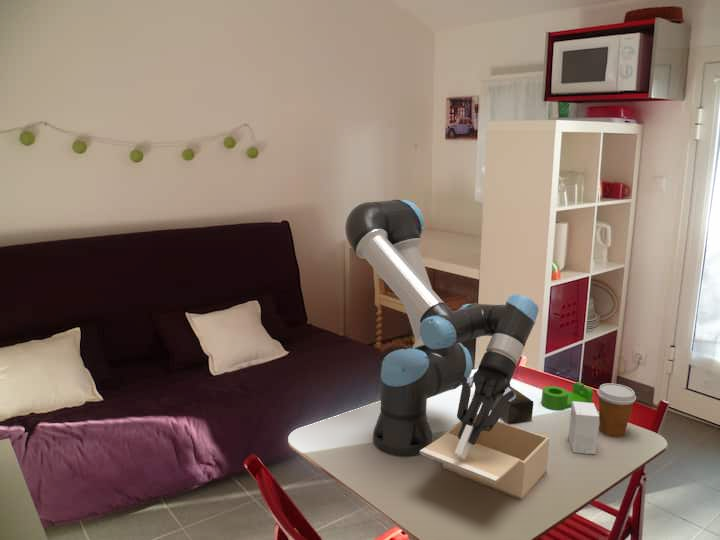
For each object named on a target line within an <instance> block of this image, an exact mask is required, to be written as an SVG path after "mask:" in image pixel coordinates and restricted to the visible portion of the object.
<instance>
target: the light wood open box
mask: <svg viewBox="0 0 720 540" xmlns="http://www.w3.org/2000/svg"><path fill="white" fill-rule="evenodd" d="M477 416H478V413H477V415H476V417H475V419H474V422H473V423H475V420H476V418H477ZM461 427H462V422H461V421H460V420H459V422H458V423H457V424H455V425H454V426H453V427H450V429H448V430H446V431H445V432H444V433H443V435H445V434H447V433H449V434H452V435H455V436H458V434H459V431H460V429H461ZM472 427H473V428H474V426H473V424H472ZM476 443H477V444H480V445H482V446H485V447H488V448H491V449H493V450H496V451H499V452H502V453H504V454H507V455H510V456H513V457H516V458H518V459H520V462H519V463H518V464H517V465H516V466H515V467H514V468H513V469H511V470H510V471H509V472H508V473H507V474H506V475H505V476H503V477H502V478H501V479H500V480H499V481H498V482H497V483H496V484H495V483H492V482H490V481H487V480H485V479H482V478H479V477H477V476H474V475H472V474H469V473H467V472H464V471H462V470H459V469H457V468H454V467H452V466H449V465H447V464H444V463H442V466H441V467H442V469H444V470H447V471H449V472H451V473H454V474H457V475H458V476H461V477H463V478H466V479H468V480H470V481H473V482H476V483H479V484H481V485H484V486H486V487H489V488H491V489H494V490H496V491H499V492H500V493H504V495H505V494H506V495H508V496H511V497H513V498H516V499H518V500H520V501H522V500H523V499H524V498H525V497H527V495H528V493H530V491H531V490H532V489H533V488H534V487H535V485H537V484H538V483H539V482H540V480H541V479H542V478H543V477H544V476H545V475H546V473H547V469H548V460H549V459H548V458H549V447H550V437H548V436H545V435H543V434H539V433H536V432H533V431H529V430H526V429H524V428H521V427H518V426H515V425H512V424H508V423H507V422H506V423H505V422H503V421H499V420H498V421H497V423H496V424H495V425H494V427H493V428H492V430H491V431H489V432H488V431H482V432H481V433H480V435H479V437H478V439H477V442H476Z"/></svg>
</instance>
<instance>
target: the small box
mask: <svg viewBox="0 0 720 540" xmlns="http://www.w3.org/2000/svg"><path fill="white" fill-rule="evenodd" d="M599 427H600V423H599V411H598V410H597V408H596V405H595V403H594V402H592V403H587V402H576V401H572V405H571V408H570V418H569V430H568V440H569V443H570V447H571V450H572V453H577V454H578V453H579V454H587V455H596V453H597V445H598V444H597V443H598V435H599Z"/></svg>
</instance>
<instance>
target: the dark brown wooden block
mask: <svg viewBox="0 0 720 540" xmlns="http://www.w3.org/2000/svg"><path fill="white" fill-rule="evenodd" d="M475 389H476V388H475V387H474V390H475ZM510 389H511V391H513V392H514V393H515V395H516V397H517V399H516V400H515V401H514V402H512V403H511V404H509V406H508V407H507V409H506V410H505V411H504V413H503V414H502V416H501V417H500V419H502V420H503V421H505V422H506V424H509V425H512V424H517V423H525V422H531V421H532V418H533V410H534V401H533V400H532V399H530V398H529V397H528V396H525V395H524V394H523V393H521V392H520V391H519V390H517V389H516V388H514V387H512V386H511V385H510ZM503 394H504V393H503ZM503 394H502V395H500V396H499V397H497V398H496V401H495V403H494V404H493V406H492V408H491V411H492V410H493V409H494V407H495V406H496V405H497V403H498V402H499V400H500V399H501V398H502V397H503ZM483 401H484V400H483ZM483 401H482V403H481V404H483Z"/></svg>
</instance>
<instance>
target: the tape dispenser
mask: <svg viewBox="0 0 720 540" xmlns="http://www.w3.org/2000/svg"><path fill="white" fill-rule="evenodd" d="M593 395H594V390H593V388H591V387H590V386H585V384H584V383H582V382H580V381H577V382H574V383H573V384H572V390H571V391H568V390H567V389H565V388H562V387H560V386H553V385H552V386H551V385H549V386H545V387H543V388H542V394H541V405H542V406H543V407H544V408H545V409H548V410H550V411H556V412H557V411H565V410H566V409H567V410H568V409H571V405H572V401H576V402H587V403H593V397H594V396H593Z"/></svg>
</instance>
